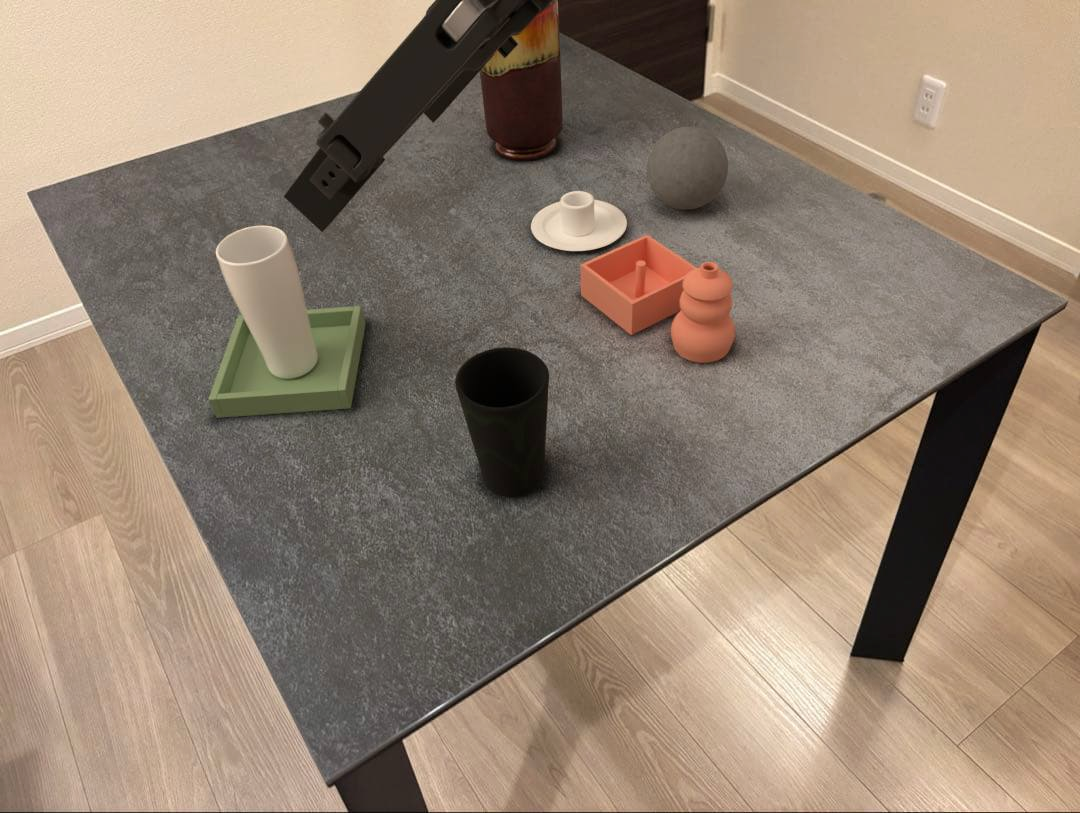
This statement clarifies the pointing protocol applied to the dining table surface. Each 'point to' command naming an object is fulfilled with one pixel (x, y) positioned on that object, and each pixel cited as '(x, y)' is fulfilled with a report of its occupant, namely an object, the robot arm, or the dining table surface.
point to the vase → (526, 91)
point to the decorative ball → (687, 168)
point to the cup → (506, 417)
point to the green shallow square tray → (325, 387)
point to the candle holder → (578, 223)
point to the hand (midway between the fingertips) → (368, 153)
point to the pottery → (663, 296)
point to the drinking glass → (269, 297)
